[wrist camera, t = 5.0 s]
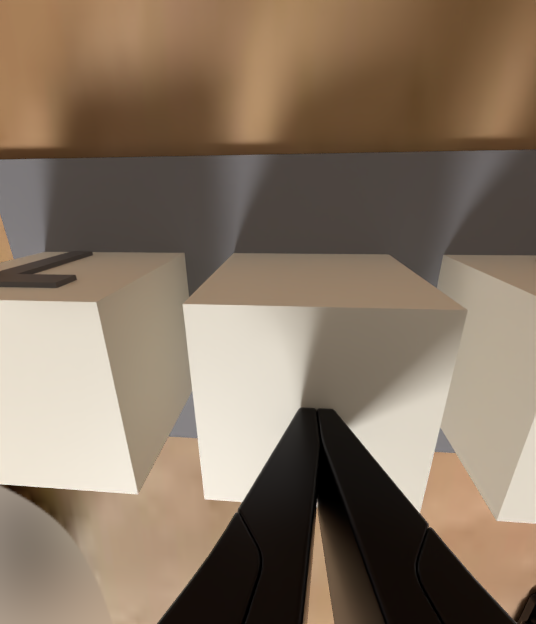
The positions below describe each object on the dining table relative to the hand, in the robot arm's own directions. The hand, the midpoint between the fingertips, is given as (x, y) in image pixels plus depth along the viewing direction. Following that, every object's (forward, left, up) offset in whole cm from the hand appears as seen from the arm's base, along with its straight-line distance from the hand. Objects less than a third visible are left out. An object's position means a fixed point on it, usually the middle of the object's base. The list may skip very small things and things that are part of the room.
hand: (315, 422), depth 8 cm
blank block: (0, 0, -6) cm, 6 cm away
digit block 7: (+8, 0, -6) cm, 10 cm away
